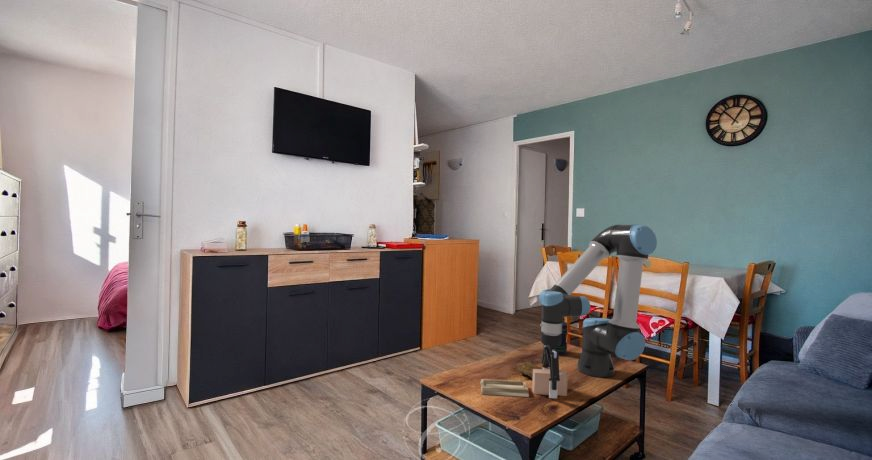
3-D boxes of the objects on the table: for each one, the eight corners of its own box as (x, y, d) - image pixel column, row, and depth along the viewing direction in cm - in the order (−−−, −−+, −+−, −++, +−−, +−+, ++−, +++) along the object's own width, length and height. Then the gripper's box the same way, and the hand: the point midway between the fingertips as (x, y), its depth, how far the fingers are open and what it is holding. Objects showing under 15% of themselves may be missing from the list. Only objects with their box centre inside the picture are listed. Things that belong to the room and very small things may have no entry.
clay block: (564, 391, 149) (564, 370, 148) (566, 396, 145) (567, 374, 144) (532, 389, 149) (532, 368, 149) (534, 394, 145) (534, 372, 145)
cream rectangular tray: (480, 383, 153) (480, 377, 153) (524, 385, 152) (524, 380, 152) (482, 394, 143) (482, 388, 143) (528, 396, 142) (529, 391, 142)
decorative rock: (508, 373, 167) (537, 386, 156) (508, 363, 167) (537, 376, 155) (525, 366, 174) (554, 378, 163) (525, 357, 174) (554, 368, 162)
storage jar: (550, 355, 191) (551, 325, 191) (543, 349, 200) (544, 320, 200) (570, 355, 191) (571, 325, 191) (562, 349, 201) (563, 320, 201)
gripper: (535, 324, 159) (533, 378, 159) (548, 341, 135) (546, 404, 135) (553, 325, 158) (551, 379, 158) (570, 342, 135) (568, 405, 135)
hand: (549, 391), depth 147 cm, fingers open, 11 cm apart
